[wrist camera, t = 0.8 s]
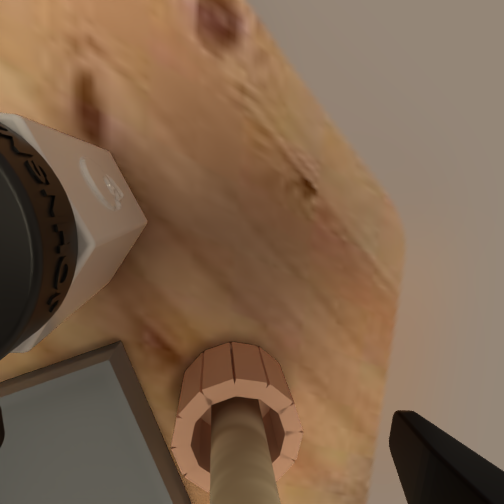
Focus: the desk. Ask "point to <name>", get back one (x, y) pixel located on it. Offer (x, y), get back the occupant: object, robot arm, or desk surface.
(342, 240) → the desk surface
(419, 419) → the robot arm
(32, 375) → the tray
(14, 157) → the jar
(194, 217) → the desk surface
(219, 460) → the dowel
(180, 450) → the cup
